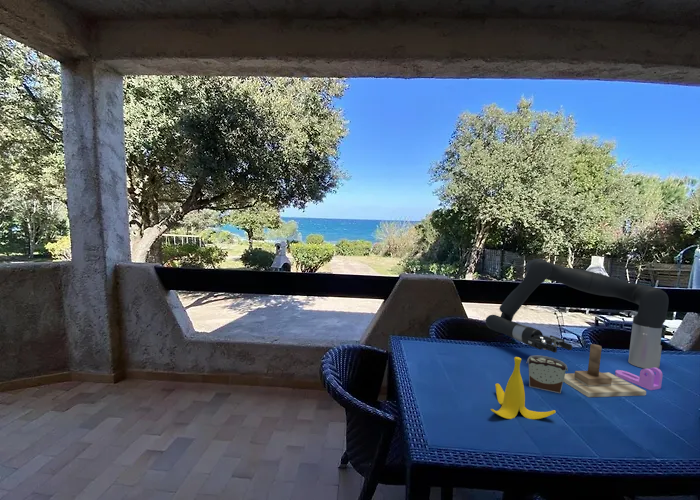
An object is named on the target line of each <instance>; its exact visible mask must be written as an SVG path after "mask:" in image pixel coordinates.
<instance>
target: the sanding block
mask: <svg viewBox="0 0 700 500" xmlns="http://www.w3.org/2000/svg"><path fill="white" fill-rule="evenodd" d="M602 350H603V349H602V345H599V344H597V343H596V344H595V343H591V344H590V346H589V355H588V366H587V370H574V373H575V375H574V379H576V380H578V381H579V382H581V383H583V384H584V385H586V386H588V387H591V386H611V382H612V378H611V377H609V376H607V375H605V374H603V373H604V372H601V371H600V368H601V367H600V366H601V359H602V357H601V356H602Z"/></svg>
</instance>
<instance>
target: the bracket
mask: <svg viewBox="0 0 700 500" xmlns="http://www.w3.org/2000/svg"><path fill="white" fill-rule="evenodd" d="M614 375H615V376H617V377H619V378H621V379H623V380H625V381H627V382H629V383H631V384H633V385H635V386H638V387H640V388H641V387H642V388H644V389H645V390H648V391H654V390H659V389H660V390H661V388H662V385H663V384H662V382H663V376H664V375H663V372H662V370H661V369H660V368H655V367H654V368H649V369H645V368H642V369H641V370H640V371H639V375H636V374H634V373H631V372H629V371H626V370H622V369H621V370H620V369H616V370H615V374H614Z"/></svg>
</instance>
